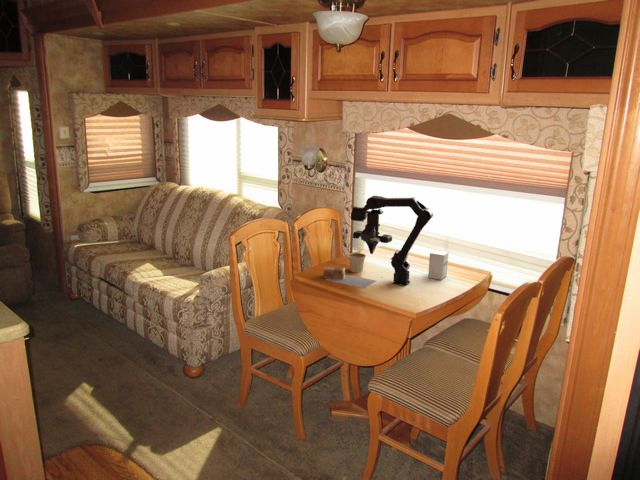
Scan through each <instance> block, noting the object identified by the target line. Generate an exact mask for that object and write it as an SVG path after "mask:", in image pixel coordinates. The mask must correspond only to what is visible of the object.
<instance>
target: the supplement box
mask: <svg viewBox="0 0 640 480" xmlns="http://www.w3.org/2000/svg"><path fill="white" fill-rule="evenodd" d="M428 262H429V263H428V273H427V275H428V276H427V277H428V278H430V279H434V280H441V281H442V280H443V279H445V278H446V277H447V275H448V265H449V264H448V263H449V252H448V251H442V250H433V251H432V252H430V253H429V261H428Z"/></svg>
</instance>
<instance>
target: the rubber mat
mask: <svg viewBox="0 0 640 480" xmlns="http://www.w3.org/2000/svg"><path fill="white" fill-rule="evenodd" d="M324 281H327V282H333V283H336V284H342V285H347V286H351V287H356V288H360V289H365V288H367V287H369V286H370V285H372V284H374V283H376V282H377V280H374V279H370V278H364V277H361V276H355V275H351V274H346V273H345V278H344V280H343V279H330V278H324Z"/></svg>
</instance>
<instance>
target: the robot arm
mask: <svg viewBox="0 0 640 480" xmlns="http://www.w3.org/2000/svg"><path fill="white" fill-rule="evenodd" d="M388 207H389V208H390V207H393V208H394V207H395V208H396V207H397V208H399V207H400V208H401V207H403V208H406V207H409V208H410V209H411V210H412V211H413V213H414V214H415V215H416V217H417V218H416V220H415V224H414V226H413V228H412V229H411V232H410V233H409V235H408V237H407V239H406V240H405V242H404V243H403V245H402V246H401V249H400V250H399V249H397V248H396V249H397V250H395V251H394V254H393V256H392V257H391V258H390V264H391V267H392V268H393V269H394V273H393V281H392V284H394V285H397V286H398V285H400V286H404V287H406V286H407V285H409V284H410V283H411V281H410V270H409V269H410V266H411V264H410V263H409V262H408V261H407V259H408V256H409V253H410V251H411V249H412V247H413V245H414V244H415V241H416V240H417V239H418V237H419V236H420V233H421V232H422V230H423V228H424V227H425V226H426V225H427V224H428V222H429V221H431V219H432V218H433V216H434V212H433V210H432V209H431V208H429V207H426V206H425V204H423V203H422V202H420V201H419V200H418V199H417V198H416V197H414V196H413V197H384V196H382V195H381V196H379V195H371V196H370V197H369V198H367V199H366V201H365V205H364V206H362V207H358V206H353V207H352V209H351V214H350V220H351V222H352V221H353V222H354V221H355V222H365V220H366V224H365V226H364V229H363V230H359V229H357V230H355V231H354V232H353V233H352V238H353V239H359V238H360V240H361V241H363V242H365V244H366V245H367V247H368V250H369V253H370V255H373V254H374V252H375V250H376V247H377V246H378V244H379V242H380V243H382V244H388V243H390V242H392V241H393V236H392V235H391V234H382V235H380V232H379V228H380V226H381V224H380V215H382V214H383V213H384V211H383V210H382V209H381V208H388Z"/></svg>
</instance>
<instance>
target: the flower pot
mask: <svg viewBox="0 0 640 480" xmlns="http://www.w3.org/2000/svg"><path fill="white" fill-rule="evenodd" d="M347 257H348V261H349V263H348V264H349V269H350V270H349V271H350V272H351V273H362V272H363V269H364V266H365V265H364V263H365V259H366V257H367V255H366V253H360V252H352V253H351V252H350V253H348V254H347Z"/></svg>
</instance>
